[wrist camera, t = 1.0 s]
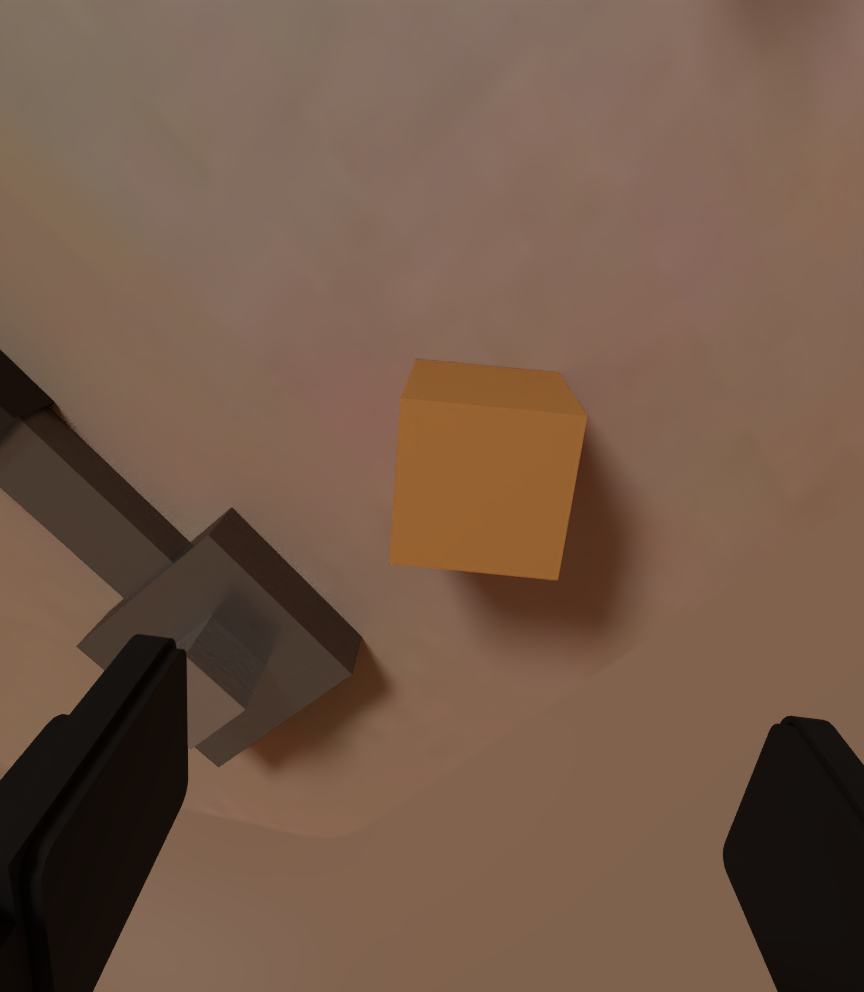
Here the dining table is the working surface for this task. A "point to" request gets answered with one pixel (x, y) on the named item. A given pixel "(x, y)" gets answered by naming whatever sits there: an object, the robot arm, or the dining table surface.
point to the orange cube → (485, 469)
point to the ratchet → (177, 582)
